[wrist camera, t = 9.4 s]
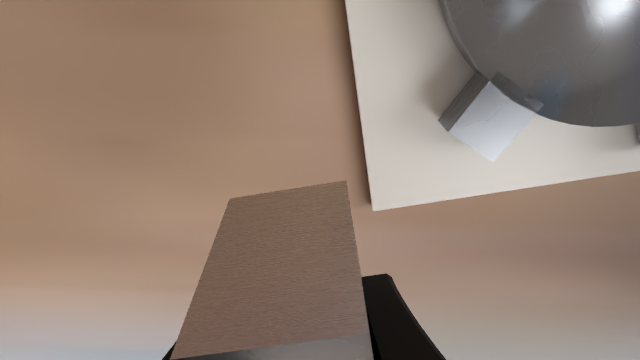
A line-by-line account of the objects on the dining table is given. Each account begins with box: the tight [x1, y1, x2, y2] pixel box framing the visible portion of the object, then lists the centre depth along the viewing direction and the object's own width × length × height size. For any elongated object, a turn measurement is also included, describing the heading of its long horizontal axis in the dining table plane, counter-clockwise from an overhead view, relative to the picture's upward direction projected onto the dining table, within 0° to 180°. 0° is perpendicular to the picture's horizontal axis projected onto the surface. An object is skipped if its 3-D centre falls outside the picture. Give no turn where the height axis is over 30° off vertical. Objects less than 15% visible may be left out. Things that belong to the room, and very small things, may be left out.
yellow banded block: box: [170, 181, 374, 360], centre depth 10 cm, size 5×3×5 cm, turn 10°
